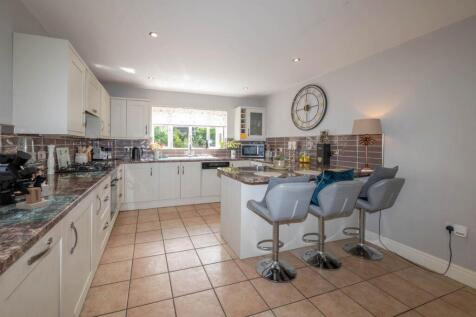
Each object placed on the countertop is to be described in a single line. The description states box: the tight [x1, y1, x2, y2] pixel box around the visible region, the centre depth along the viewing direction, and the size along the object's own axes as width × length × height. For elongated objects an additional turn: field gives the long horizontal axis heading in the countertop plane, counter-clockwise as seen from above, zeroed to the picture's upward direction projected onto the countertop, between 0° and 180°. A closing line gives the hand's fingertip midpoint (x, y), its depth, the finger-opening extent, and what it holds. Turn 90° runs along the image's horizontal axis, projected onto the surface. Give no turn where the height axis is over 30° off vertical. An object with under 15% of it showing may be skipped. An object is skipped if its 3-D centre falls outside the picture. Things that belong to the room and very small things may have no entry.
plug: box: [25, 187, 43, 204], centre depth 122 cm, size 5×4×10 cm
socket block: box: [15, 199, 52, 211], centre depth 122 cm, size 10×10×2 cm
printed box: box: [28, 180, 50, 198], centre depth 143 cm, size 7×7×12 cm
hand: (35, 192), depth 121 cm, fingers open, 6 cm apart
